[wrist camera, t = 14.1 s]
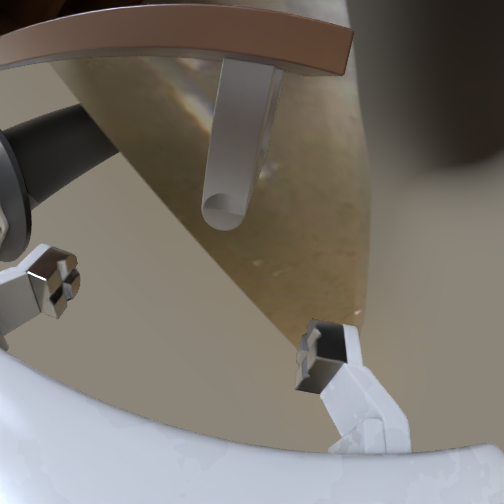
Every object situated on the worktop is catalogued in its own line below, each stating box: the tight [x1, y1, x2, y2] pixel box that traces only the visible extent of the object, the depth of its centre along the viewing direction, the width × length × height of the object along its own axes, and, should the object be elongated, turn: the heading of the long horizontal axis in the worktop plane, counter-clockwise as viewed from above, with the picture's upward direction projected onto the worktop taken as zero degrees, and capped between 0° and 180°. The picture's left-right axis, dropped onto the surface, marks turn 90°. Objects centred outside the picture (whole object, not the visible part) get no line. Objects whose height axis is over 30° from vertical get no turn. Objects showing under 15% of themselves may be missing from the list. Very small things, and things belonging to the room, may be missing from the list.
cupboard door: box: [0, 3, 354, 231], centre depth 15 cm, size 8×18×22 cm, turn 80°
